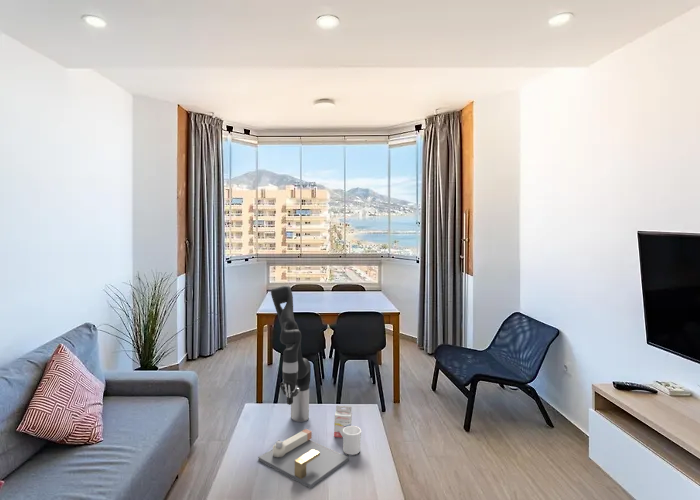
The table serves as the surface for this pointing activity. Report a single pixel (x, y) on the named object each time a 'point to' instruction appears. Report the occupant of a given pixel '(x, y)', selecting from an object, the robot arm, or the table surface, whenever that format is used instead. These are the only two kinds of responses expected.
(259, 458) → the base plate
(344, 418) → the ink cartridge box
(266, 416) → the table surface
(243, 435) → the table surface
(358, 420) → the table surface
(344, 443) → the mug
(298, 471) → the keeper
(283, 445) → the latch bar
